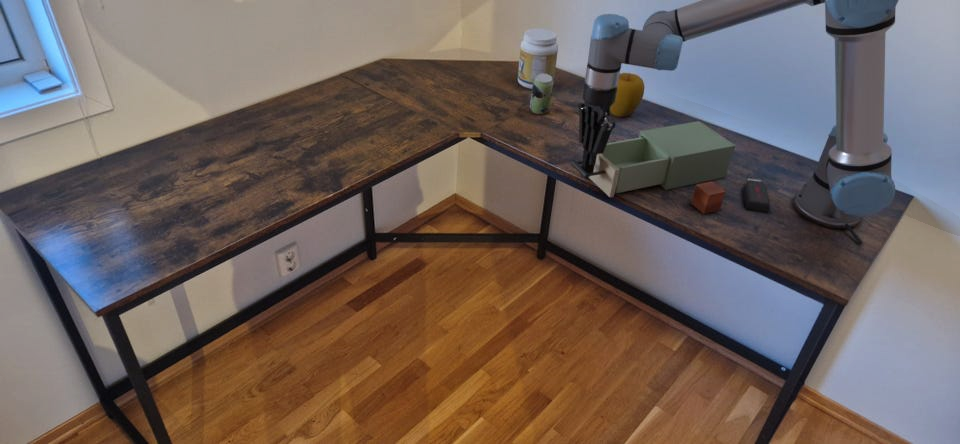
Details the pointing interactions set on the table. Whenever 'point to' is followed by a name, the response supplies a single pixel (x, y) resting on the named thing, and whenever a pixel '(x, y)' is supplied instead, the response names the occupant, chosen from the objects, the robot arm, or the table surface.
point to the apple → (627, 94)
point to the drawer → (627, 166)
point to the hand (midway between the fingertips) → (586, 173)
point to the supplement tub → (537, 55)
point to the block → (708, 197)
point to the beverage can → (541, 93)
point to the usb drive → (756, 195)
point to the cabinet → (691, 153)
